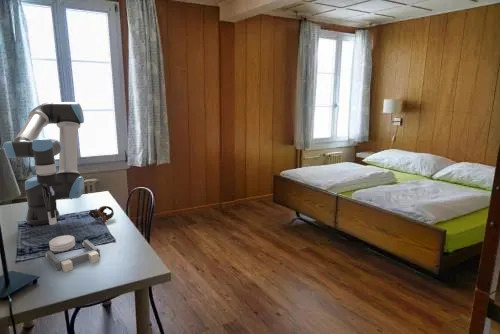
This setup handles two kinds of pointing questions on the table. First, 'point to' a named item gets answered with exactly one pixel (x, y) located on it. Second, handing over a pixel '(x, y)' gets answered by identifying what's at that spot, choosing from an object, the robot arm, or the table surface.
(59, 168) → the robot arm
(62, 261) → the grey u-shaped frame
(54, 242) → the white round disc
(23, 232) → the table surface
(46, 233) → the table surface
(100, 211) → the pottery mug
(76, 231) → the table surface
